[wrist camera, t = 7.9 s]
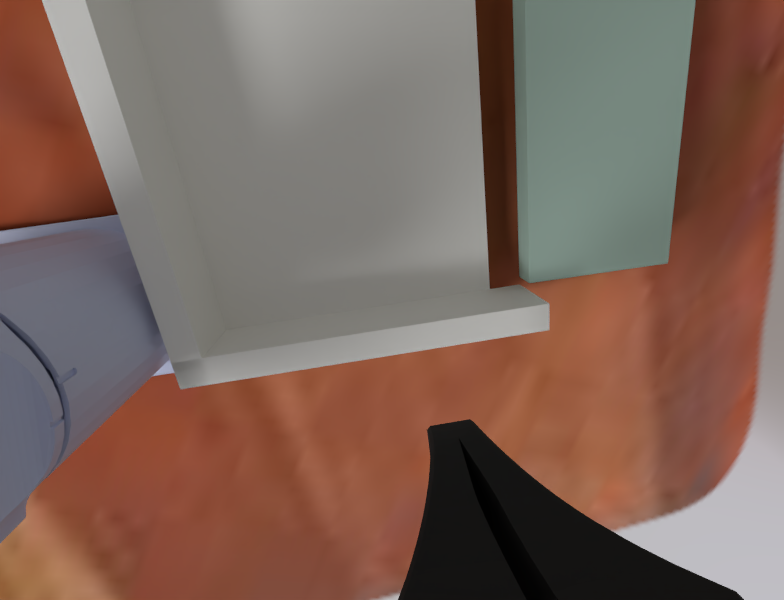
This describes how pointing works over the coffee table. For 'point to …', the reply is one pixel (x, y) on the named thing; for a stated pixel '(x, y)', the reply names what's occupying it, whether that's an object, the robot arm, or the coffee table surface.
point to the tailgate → (597, 132)
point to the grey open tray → (294, 176)
